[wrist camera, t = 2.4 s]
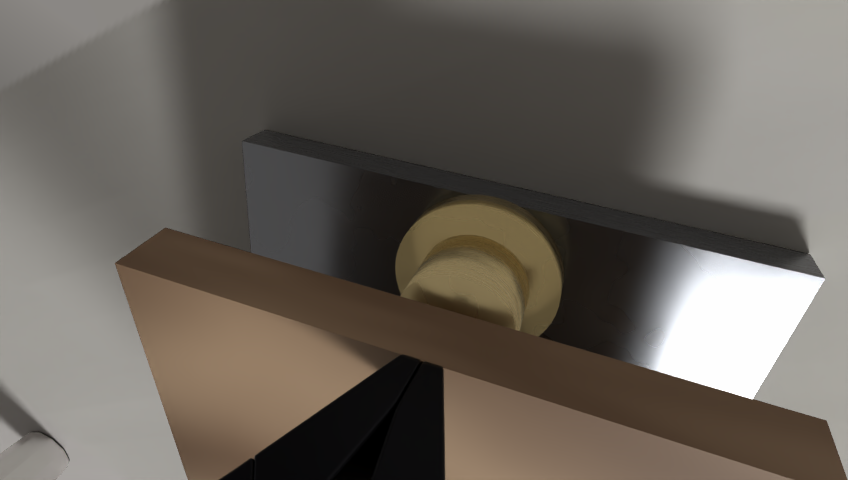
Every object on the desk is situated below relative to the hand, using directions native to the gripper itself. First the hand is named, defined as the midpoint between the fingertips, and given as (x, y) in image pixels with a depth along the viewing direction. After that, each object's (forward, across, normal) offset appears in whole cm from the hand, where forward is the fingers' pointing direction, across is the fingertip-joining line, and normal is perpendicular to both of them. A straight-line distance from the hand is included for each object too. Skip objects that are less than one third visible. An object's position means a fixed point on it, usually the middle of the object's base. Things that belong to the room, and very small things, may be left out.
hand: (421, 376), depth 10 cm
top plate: (+3, 0, +7) cm, 8 cm away
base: (+7, 0, +7) cm, 10 cm away
